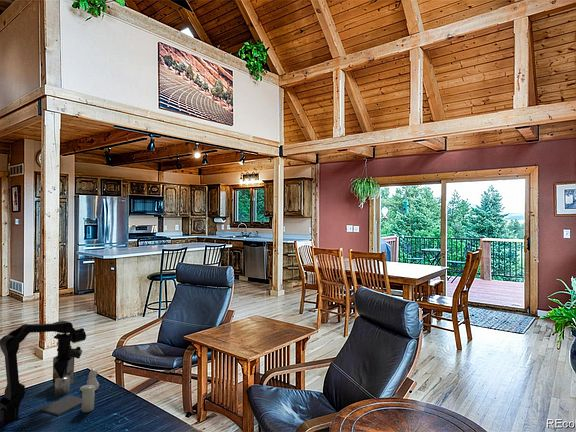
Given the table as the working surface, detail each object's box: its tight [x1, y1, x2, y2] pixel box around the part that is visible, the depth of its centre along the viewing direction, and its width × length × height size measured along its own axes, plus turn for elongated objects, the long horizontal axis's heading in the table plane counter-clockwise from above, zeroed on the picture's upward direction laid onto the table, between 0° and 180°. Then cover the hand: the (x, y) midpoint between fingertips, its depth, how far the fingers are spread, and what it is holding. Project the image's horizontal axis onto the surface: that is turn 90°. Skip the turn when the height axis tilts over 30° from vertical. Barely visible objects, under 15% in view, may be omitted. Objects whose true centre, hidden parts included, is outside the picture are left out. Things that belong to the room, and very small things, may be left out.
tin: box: [54, 375, 71, 396], centre depth 202 cm, size 7×7×8 cm
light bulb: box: [81, 384, 95, 413], centre depth 184 cm, size 6×6×11 cm
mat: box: [40, 394, 82, 417], centre depth 187 cm, size 16×13×1 cm
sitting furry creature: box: [79, 368, 100, 392], centre depth 205 cm, size 10×9×12 cm
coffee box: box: [52, 355, 75, 387], centre depth 213 cm, size 9×6×16 cm
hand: (63, 375), depth 194 cm, fingers open, 9 cm apart
